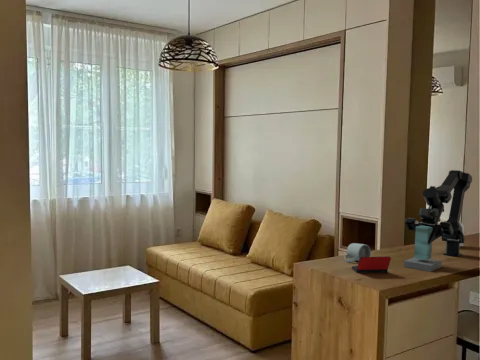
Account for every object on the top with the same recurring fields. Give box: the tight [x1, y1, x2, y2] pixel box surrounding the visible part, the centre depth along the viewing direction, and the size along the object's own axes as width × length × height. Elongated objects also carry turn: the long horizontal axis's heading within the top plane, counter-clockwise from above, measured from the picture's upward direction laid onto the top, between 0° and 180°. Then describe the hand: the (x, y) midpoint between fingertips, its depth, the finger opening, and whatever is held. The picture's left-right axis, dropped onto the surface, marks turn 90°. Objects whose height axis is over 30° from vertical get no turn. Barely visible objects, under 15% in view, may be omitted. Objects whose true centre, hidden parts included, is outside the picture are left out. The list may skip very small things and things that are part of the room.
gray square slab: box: [403, 256, 442, 272], centre depth 191 cm, size 11×11×2 cm
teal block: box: [413, 225, 433, 260], centre depth 191 cm, size 5×5×13 cm
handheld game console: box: [351, 256, 392, 274], centre depth 183 cm, size 12×11×7 cm
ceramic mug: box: [343, 242, 372, 263], centre depth 201 cm, size 11×8×8 cm
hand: (422, 242), depth 190 cm, fingers closed on teal block, 5 cm apart
